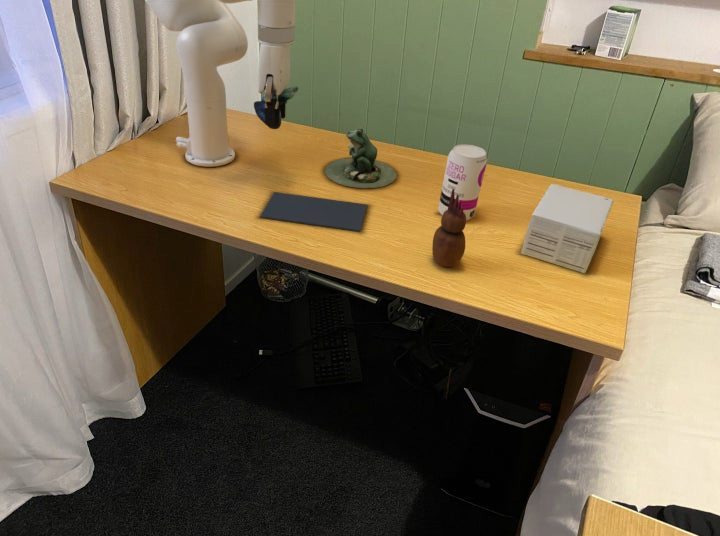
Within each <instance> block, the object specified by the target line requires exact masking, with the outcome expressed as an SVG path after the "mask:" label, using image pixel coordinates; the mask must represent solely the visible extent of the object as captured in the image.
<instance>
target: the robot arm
mask: <svg viewBox="0 0 720 536" xmlns="http://www.w3.org/2000/svg"><path fill="white" fill-rule="evenodd" d="M144 1H145V3H146V5H147V6H148V7H149V9H150V10H151V11H152V12H153V14H154V15H155V17H156V18H157V19H158V21H159V22H160V23H161V25H163V26H164V27H165V28H166V29H167V30H168V31H170V32H179V33H178V35H177V37H176V42H175V43H176V44H175V45H176V46H175V47H176V52H177V57H178V60H179V63H180V67H181V71H182V77H183V83H184V92H185V100H186V112H187V122H188V133H189V136H188V137H184V136H177V137H176V138H175V143H176V144H175V145H176V148H179V149H185V150H186V151H185V152H184V153H185V154H184V155H185V157H184V158H185V160H186V161H187V162H188V163H190V164H192V165H195V166H197V167H204V168H205V167H207V168H210V167H211V168H212V167H213V168H214V167H220V166H224V165H225V166H226V165H227V164H229V163H231V162H233V161H234V160H235V159H236V153H235V150H234V149H233V148H231V147H230V146H229V135H228V133H229V131H228V115H227V112H228V111H227V93H226V86H225V82H224V80H223V78H222V77H221V75H220V73H219V72H218V67H221V66H224V65H228V64H232V63H234V62H237V61H240V60H242V59H243V58H244V57H245V55H246V54H247V51H248V48H249V47H248V45H249V42H248V37H247V34H246V31H245V29H244V27H243V26H242V24H241V22H240V21H239V20H238V18H237V17H236V16H235V15H234V13H233V12H232V10H231V9H230V8H229V6H228V5H227V4H237V3H242V2H248V1H249V2H250V1H252V0H144ZM256 2H257V4H256V5H257V42H258V43H259V44H260V46H259V54H258V68H257V69H258V71H257V72H258V73H257V92H258V93H259V94H263V92H264V94H265V96H264V95H263V96H264V100H265V123H264V124H265V126H267V125H268V126H276V127H278V126H279V125H280V112H281V119H285V118H286V111H287V110H286V109H287V108H286V107H287V106H286V105H287V104H286V103H285V102H284V103H282V104H280V105H279V95H280V94H281V93H282V92H283V91H284V90H285V89H287V88H288V86H289V83H290V80H291V46H292V45H294V44H295V33H296V32H295V31H296V30H295V29H296V0H256ZM272 90H275V91H276V93H272ZM272 96H275V100H274V98H272ZM268 126H267V127H268Z"/></svg>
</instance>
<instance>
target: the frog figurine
mask: <svg viewBox="0 0 720 536" xmlns="http://www.w3.org/2000/svg"><path fill="white" fill-rule="evenodd" d="M345 137H346V138H347V139H348V140H349V142H350V143H349V144H348V145H347V148H348V149H349V152H348V154H349V156H351V158H350V157H349V158H342V159H338V160H335V161H332V162H331V163H329V164H327V165H326V166H325V168H324V173H325V176H326V177H327V178H328V179H329V180H331V181H332V182H334V183H336V184H339V185H341V186H345V187H350V188H356V189H357V188H358V189H376V188H383V187H385V186H387V185H390V184H392V183H393V182H394V181H395V180H396V178H397V173H396V171H395V169H393V168H392V167H391V166H390V165H388V164H386V163H383V162H381V161H378V160H377V157H378V148H377V146H375V145H374V143H372V142H371V140H370V138H369V136H368V135H367V134H366V133H365V132H364V129H363V127H358V128H357V129H355V130H353V129H352V130H349V131H346V134H345Z"/></svg>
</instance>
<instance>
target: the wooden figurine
mask: <svg viewBox="0 0 720 536" xmlns="http://www.w3.org/2000/svg"><path fill="white" fill-rule="evenodd" d="M458 200H459V195H457V197H456V199H454V189H452V193H451V197H450V201H449V206H448V210H446V211H445V212H444V213H443V215H441V220H440V226H439V227H437V229H436V230H435V232H434V234H433V237H432V245H431V246H432V257H433V260H434V262H435V263H436V264H437V265H439V266H440V267H443V268H451V267H455V266H457V264H458V263H459V262H460V261H461V260H462V258H463V256H464V254H465V252H466V251H465V250H466V236H465V233H464V229H465V227H466V225H467V220H466V215H465V213H464V212H463V208H461V202H459V204H458Z"/></svg>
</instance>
